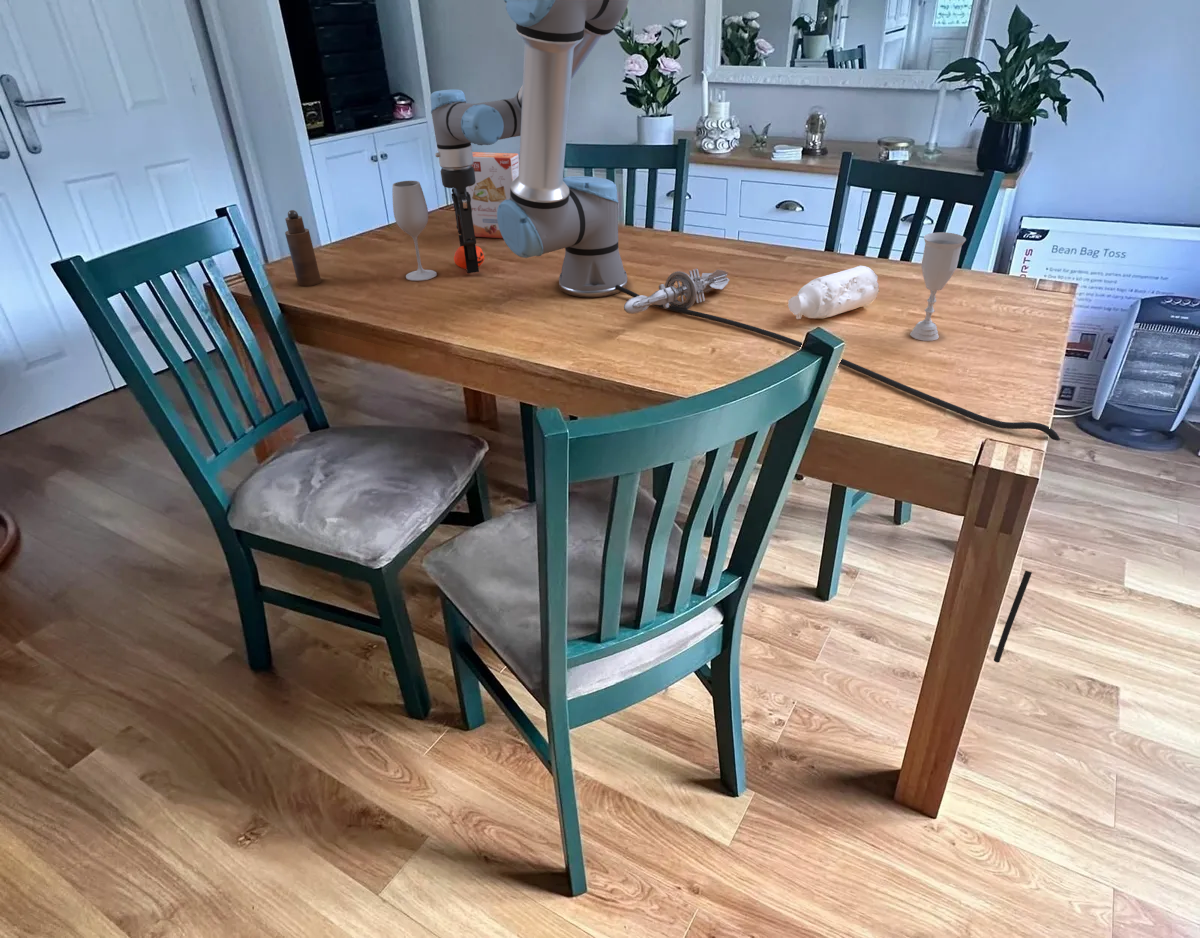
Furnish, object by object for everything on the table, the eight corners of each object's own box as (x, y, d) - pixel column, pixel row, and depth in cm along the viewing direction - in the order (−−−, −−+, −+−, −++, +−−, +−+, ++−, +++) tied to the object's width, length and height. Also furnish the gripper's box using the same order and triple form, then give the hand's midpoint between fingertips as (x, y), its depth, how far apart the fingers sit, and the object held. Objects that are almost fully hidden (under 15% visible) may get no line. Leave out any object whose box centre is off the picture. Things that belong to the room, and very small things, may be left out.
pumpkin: (486, 261, 188) (483, 235, 184) (484, 272, 181) (480, 244, 177) (457, 263, 187) (453, 237, 184) (453, 273, 181) (449, 246, 177)
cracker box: (469, 237, 207) (459, 155, 196) (478, 231, 212) (469, 151, 201) (517, 240, 203) (509, 156, 192) (526, 233, 208) (518, 152, 197)
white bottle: (777, 319, 151) (781, 280, 147) (846, 298, 159) (851, 261, 155) (806, 332, 146) (810, 291, 141) (876, 309, 153) (882, 271, 149)
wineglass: (434, 280, 178) (419, 187, 167) (401, 281, 179) (384, 188, 167) (440, 270, 185) (426, 179, 173) (409, 270, 185) (393, 180, 174)
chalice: (913, 325, 147) (932, 230, 137) (949, 333, 143) (971, 236, 133) (898, 337, 142) (917, 240, 132) (936, 346, 138) (957, 246, 128)
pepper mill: (325, 281, 181) (308, 209, 172) (305, 287, 177) (286, 214, 168) (313, 277, 184) (296, 206, 175) (293, 283, 180) (275, 210, 171)
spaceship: (604, 291, 145) (635, 283, 140) (707, 262, 169) (738, 254, 163) (614, 332, 147) (645, 326, 142) (715, 298, 171) (745, 291, 165)
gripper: (435, 160, 179) (450, 256, 192) (445, 177, 162) (460, 282, 174) (467, 157, 181) (479, 252, 193) (480, 174, 164) (492, 277, 176)
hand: (470, 266), depth 184 cm, fingers closed on pumpkin, 8 cm apart
